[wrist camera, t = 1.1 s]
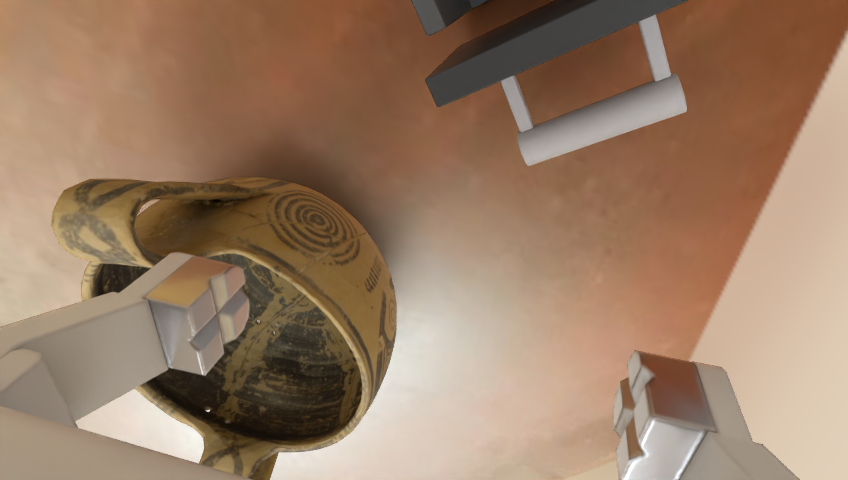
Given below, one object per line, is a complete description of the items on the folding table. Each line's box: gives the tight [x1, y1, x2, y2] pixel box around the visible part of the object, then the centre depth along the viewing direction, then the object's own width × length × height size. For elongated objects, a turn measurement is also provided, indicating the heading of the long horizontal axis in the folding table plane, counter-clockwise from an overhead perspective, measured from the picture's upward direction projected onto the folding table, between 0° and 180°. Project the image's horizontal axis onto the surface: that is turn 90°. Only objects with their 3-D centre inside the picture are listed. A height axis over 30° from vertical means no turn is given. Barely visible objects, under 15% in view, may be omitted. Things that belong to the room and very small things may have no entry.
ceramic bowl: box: [51, 177, 396, 480], centre depth 29 cm, size 22×17×15 cm
